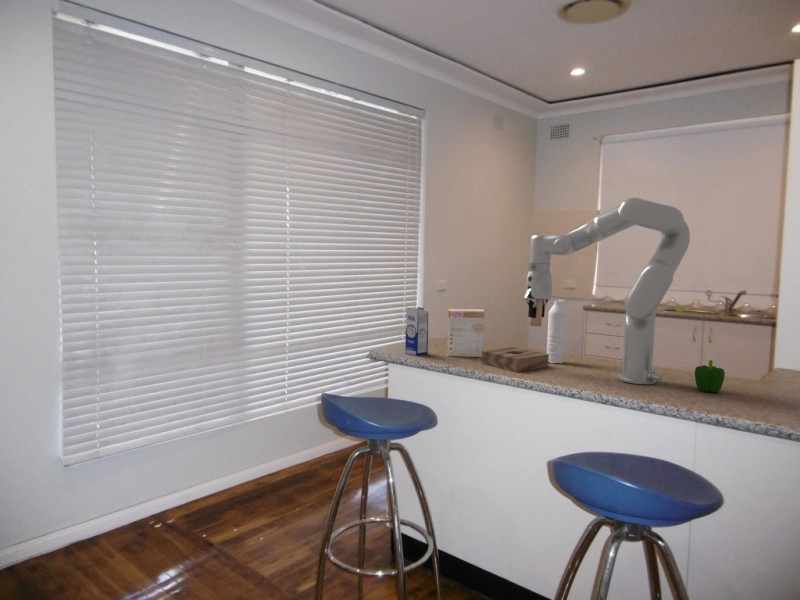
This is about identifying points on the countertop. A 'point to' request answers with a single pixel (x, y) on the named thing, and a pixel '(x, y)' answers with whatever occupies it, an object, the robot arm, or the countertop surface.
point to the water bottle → (556, 333)
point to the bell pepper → (709, 378)
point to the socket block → (514, 359)
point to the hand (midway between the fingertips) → (536, 316)
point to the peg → (537, 313)
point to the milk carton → (416, 331)
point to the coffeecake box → (465, 332)
